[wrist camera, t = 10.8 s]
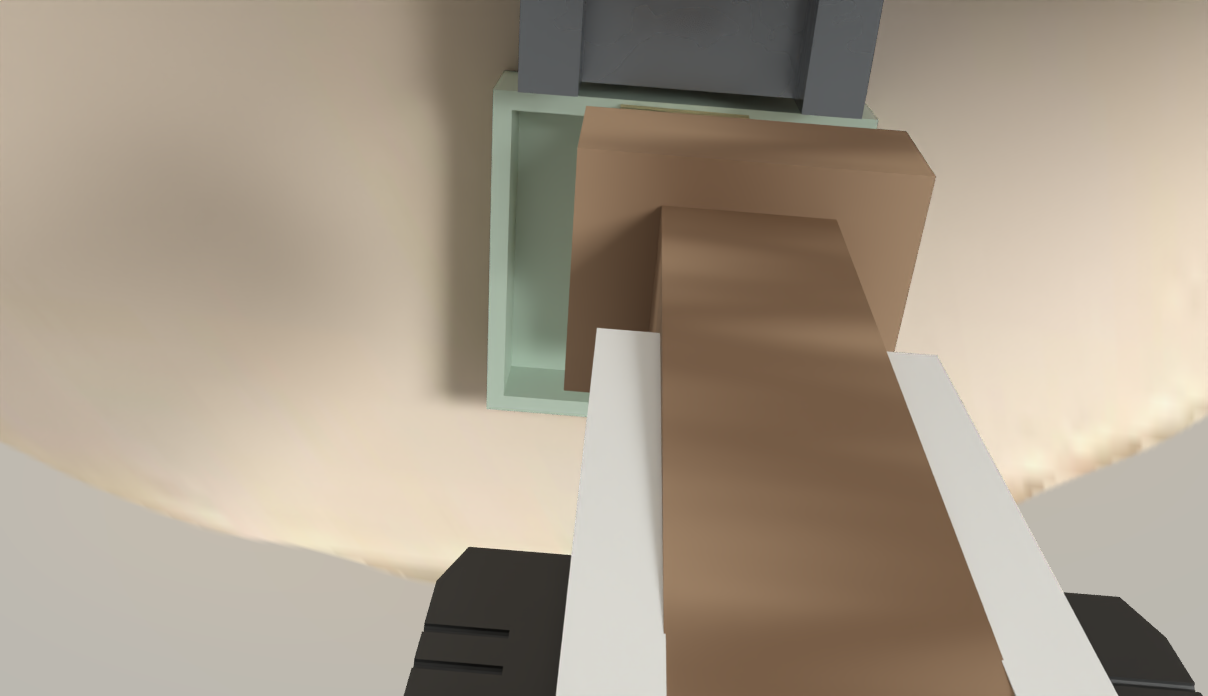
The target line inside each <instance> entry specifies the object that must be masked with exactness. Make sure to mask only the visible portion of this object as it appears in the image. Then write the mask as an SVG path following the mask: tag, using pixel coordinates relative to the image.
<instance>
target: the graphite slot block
mask: <svg viewBox="0 0 1208 696" xmlns="http://www.w3.org/2000/svg"><path fill="white" fill-rule="evenodd" d="M883 1H884V0H520V31H519V63H518V92H522V93H535V94H547V95H560V96H573V97H578V94H579V90H580V87H581V83H582V82H592V83H605V84H617V85H630V86H643V87H656V88H668V89H681V90H694V91H706V92H719V93H732V94H744V95H757V96H770V97H783V98H793V99H794V101H795V103H796V105H797V107H798V109H799V111H800V113H801V114H802V115H814V116H826V117H839V118H852V119H862V116H863V110H864V105H865V99H866V94H867V88H868V83H869V77H870V72H871V66H872V61H873V56H874V50H875V45H876V39H877V34H878V28H879V23H880V17H881V12H882V6H883Z"/></svg>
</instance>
